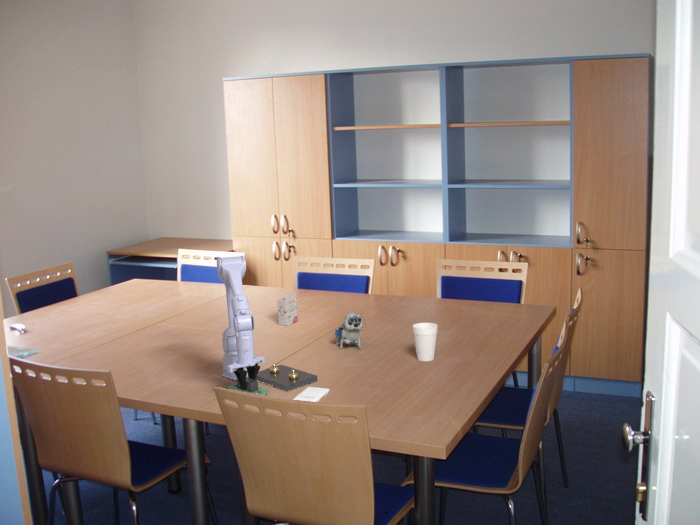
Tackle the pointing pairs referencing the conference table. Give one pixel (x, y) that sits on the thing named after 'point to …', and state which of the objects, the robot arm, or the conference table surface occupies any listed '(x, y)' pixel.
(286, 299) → the ink cartridge box
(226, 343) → the robot arm
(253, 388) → the board
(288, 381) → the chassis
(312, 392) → the external hard drive
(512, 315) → the conference table surface
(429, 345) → the foam cup
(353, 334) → the robotic toy
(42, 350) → the conference table surface
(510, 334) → the conference table surface
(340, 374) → the conference table surface
